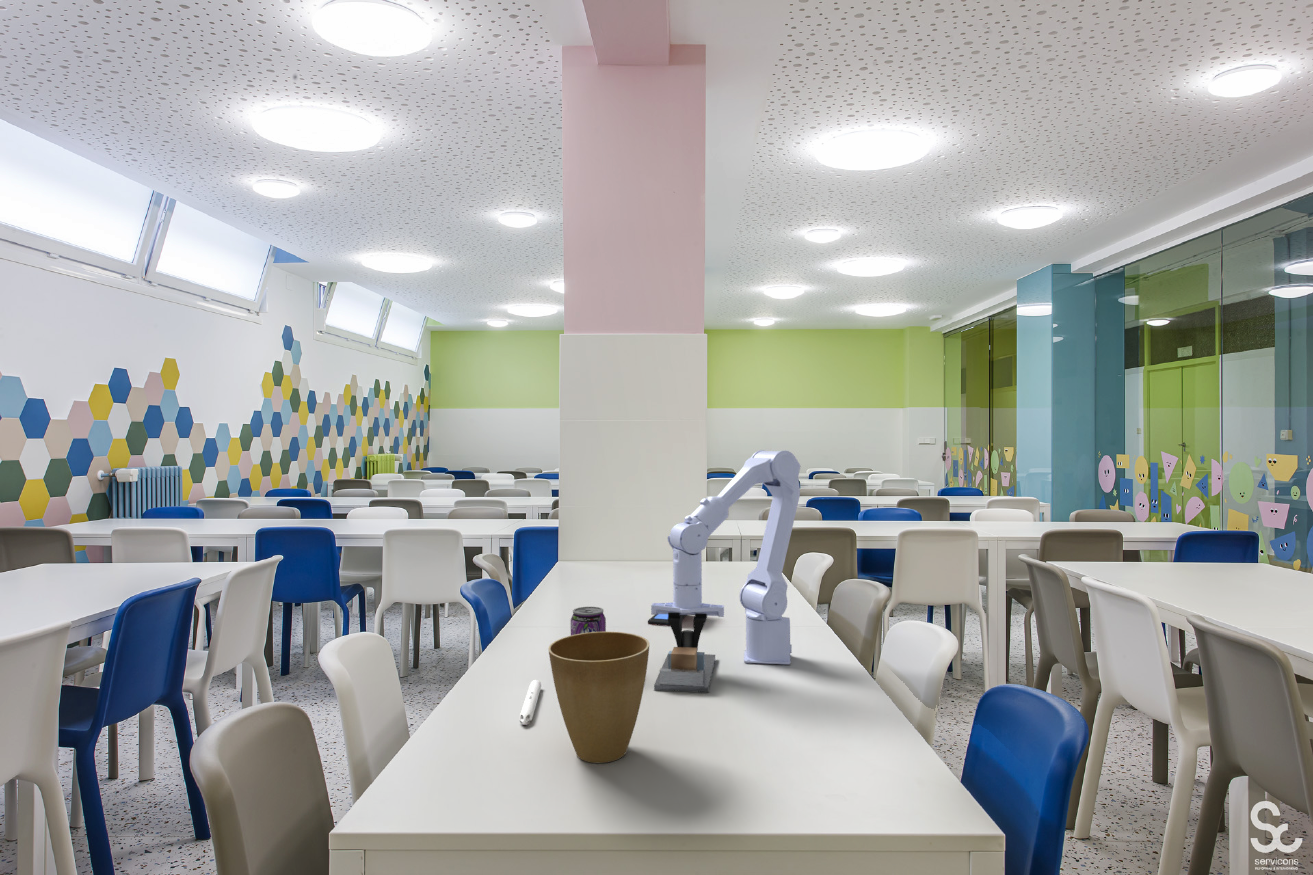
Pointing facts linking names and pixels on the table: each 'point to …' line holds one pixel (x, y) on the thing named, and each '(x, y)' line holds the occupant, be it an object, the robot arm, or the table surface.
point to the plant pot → (599, 690)
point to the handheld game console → (660, 620)
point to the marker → (530, 702)
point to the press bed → (685, 678)
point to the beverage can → (588, 620)
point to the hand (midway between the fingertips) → (687, 650)
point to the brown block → (684, 658)
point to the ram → (688, 642)
